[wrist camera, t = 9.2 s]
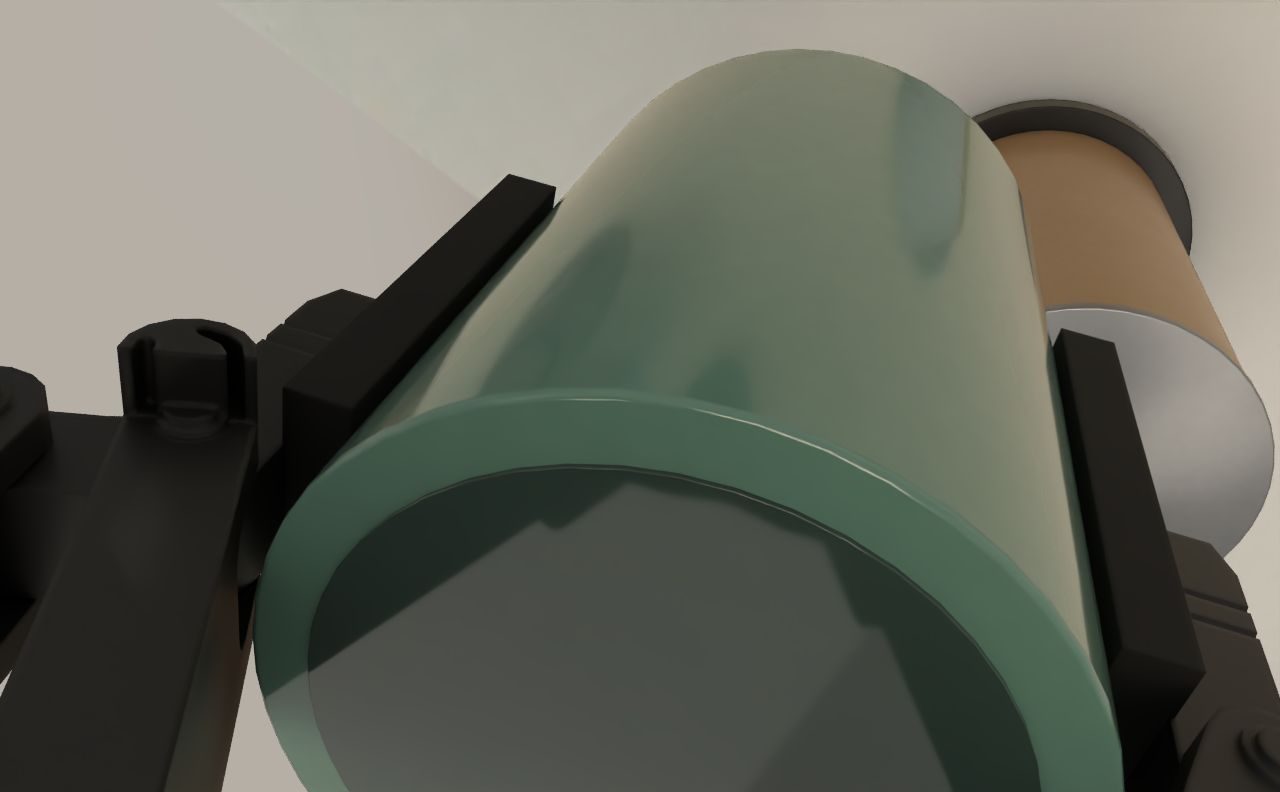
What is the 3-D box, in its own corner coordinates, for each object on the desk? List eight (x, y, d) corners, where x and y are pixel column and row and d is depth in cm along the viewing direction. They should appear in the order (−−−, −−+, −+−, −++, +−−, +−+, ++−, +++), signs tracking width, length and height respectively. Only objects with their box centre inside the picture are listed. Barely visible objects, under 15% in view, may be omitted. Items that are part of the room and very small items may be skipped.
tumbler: (535, 83, 17) (110, 415, 9) (1030, 12, 15) (1144, 367, 6) (625, 471, 21) (390, 988, 12) (1038, 461, 19) (1117, 1091, 10)
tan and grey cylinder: (878, 118, 49) (840, 295, 32) (1195, 80, 45) (1334, 261, 28) (899, 369, 55) (875, 626, 38) (1180, 355, 51) (1288, 636, 34)
